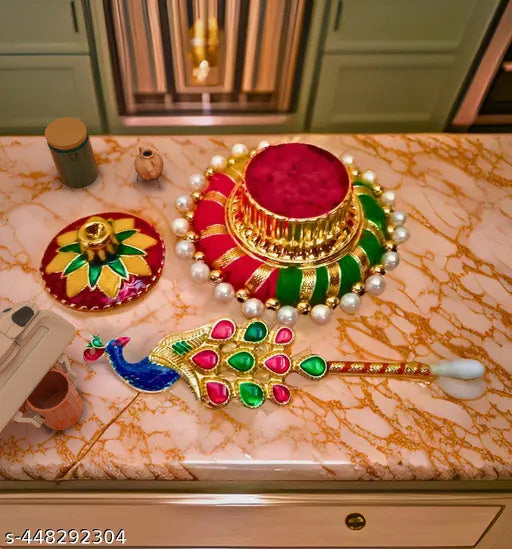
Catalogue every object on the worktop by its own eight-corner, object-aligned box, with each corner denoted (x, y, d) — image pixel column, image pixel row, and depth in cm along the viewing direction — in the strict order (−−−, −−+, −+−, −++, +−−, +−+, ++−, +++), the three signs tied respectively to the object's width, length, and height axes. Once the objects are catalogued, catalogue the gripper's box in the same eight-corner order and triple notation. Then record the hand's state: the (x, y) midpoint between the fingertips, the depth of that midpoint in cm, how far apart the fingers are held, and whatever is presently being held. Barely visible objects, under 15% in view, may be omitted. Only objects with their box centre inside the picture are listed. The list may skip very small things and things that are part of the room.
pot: (142, 168, 123) (132, 188, 119) (139, 138, 117) (128, 157, 113) (169, 173, 123) (159, 193, 119) (167, 143, 117) (157, 163, 113)
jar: (67, 193, 118) (52, 151, 108) (54, 168, 122) (38, 125, 112) (104, 179, 121) (92, 137, 110) (90, 154, 124) (77, 111, 114)
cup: (49, 438, 91) (33, 419, 84) (35, 402, 94) (18, 381, 87) (89, 417, 93) (77, 397, 86) (74, 383, 96) (61, 361, 89)
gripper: (-62, 409, 76) (20, 464, 82) (39, 292, 86) (105, 349, 92) (-72, 405, 81) (6, 457, 87) (24, 295, 91) (88, 348, 97)
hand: (58, 400), depth 89 cm, fingers closed on cup, 7 cm apart
